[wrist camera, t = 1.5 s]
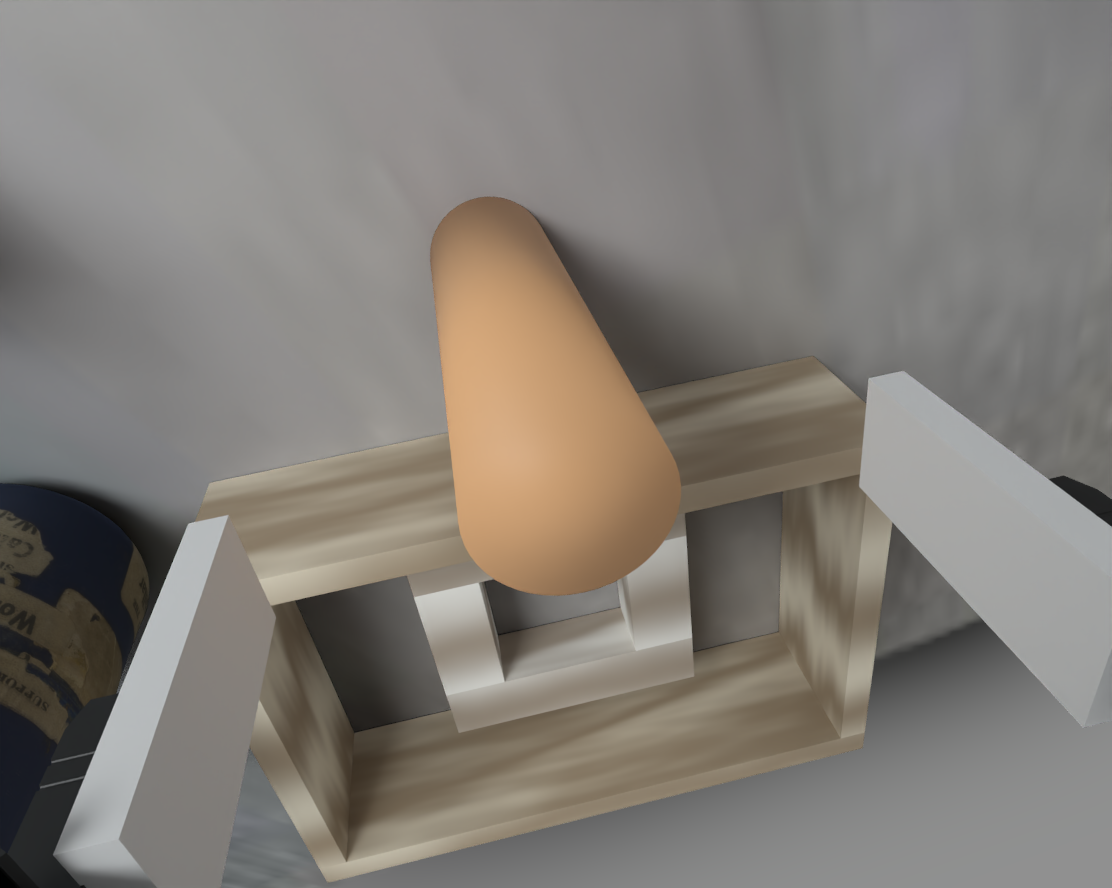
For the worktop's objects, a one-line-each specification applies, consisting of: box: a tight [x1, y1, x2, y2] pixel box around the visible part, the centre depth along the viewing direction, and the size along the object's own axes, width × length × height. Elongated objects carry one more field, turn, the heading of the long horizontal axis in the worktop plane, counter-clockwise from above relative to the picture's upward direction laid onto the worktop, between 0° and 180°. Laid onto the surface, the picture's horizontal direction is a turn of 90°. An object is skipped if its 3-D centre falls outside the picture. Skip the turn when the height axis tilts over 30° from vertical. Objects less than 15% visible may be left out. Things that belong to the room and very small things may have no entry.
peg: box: [430, 197, 681, 596], centre depth 21 cm, size 4×4×16 cm
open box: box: [195, 356, 892, 883], centre depth 34 cm, size 18×26×7 cm
